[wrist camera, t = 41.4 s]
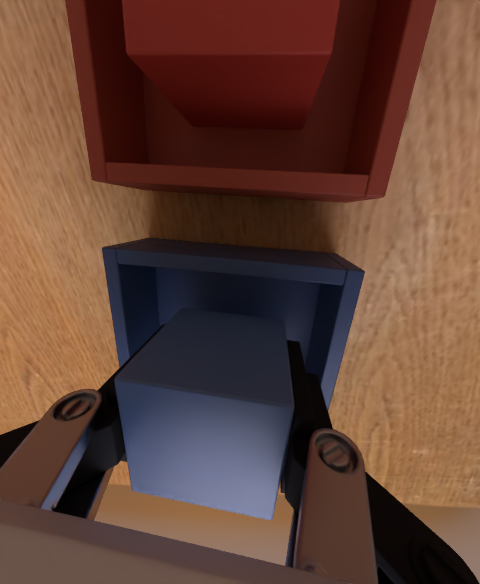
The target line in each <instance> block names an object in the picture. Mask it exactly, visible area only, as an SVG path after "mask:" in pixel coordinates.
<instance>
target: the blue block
mask: <svg viewBox="0 0 480 584" xmlns="http://www.w3.org/2000/svg"><path fill="white" fill-rule="evenodd" d="M114 382H115V388H116V394H117V400H118V407H119V413H120V419H121V425H122V432H123V438H124V444H125V450H126V456H127V463H128V469H129V475H130V481H131V487H132V490H133V491H135V492H140V493H145V494H149V495H155V496H159V497H164V498H168V499H173V500H178V501H182V502H187V503H192V504H197V505H201V506H206V507H211V508H216V509H220V510H225V511H230V512H234V513H239V514H243V515H248V516H253V517H258V518H262V519H267V520H272V519H273V516H274V510H275V505H276V500H277V495H278V490H279V485H280V479H281V474H282V469H283V464H284V459H285V454H286V448H287V443H288V438H289V433H290V428H291V423H292V417H293V412H294V407H295V406H294V398H293V389H292V380H291V372H290V363H289V355H288V346H287V337H286V329H285V321H284V320H281V319H272V318H264V317H255V316H247V315H238V314H230V313H221V312H213V311H204V310H196V309H187V308H181V309H180V310H179V311H178V312H177V313H176V314H175V315H174V316H173V317H172V318H171V319H170V320H169V321H168V322H167V324H166V325H165V326H164V327H163V328H162V329H161V330H160V331H159V332H158V333H157V334H156V335H155V336H154V337H153V338H152V339H151V340H150V341H149V342H148V343H147V344H146V345H145V346H144V348H143V349H142V350H141V351H140V352H139V353H138V354H137V355H136V356H135V357H134V358H133V359H132V360H131V361H130V362H129V363H128V364H127V365H126V366H125V367H124V368H123V369H122V370H121V372H120V373H119V374H118V375H117V376H116V377H115V379H114Z"/></svg>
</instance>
